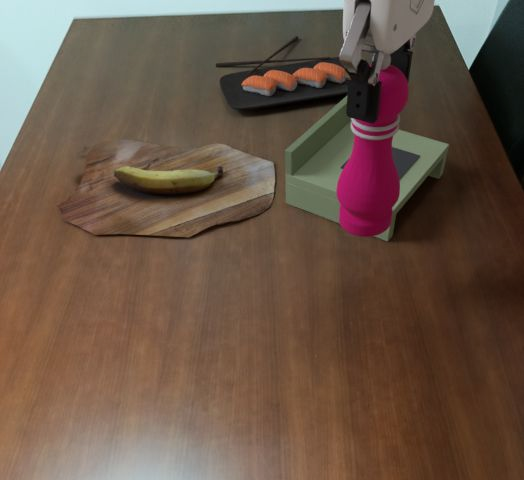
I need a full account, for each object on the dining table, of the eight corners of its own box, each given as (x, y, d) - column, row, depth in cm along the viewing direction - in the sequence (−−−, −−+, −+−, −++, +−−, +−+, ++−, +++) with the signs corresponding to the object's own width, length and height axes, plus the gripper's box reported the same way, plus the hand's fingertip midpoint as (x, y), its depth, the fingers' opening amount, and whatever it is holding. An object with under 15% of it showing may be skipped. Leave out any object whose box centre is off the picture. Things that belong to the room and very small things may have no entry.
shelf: (442, 174, 96) (454, 120, 89) (387, 242, 86) (396, 187, 79) (346, 143, 103) (350, 91, 96) (285, 203, 93) (284, 149, 86)
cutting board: (42, 235, 90) (34, 215, 87) (92, 139, 107) (86, 120, 104) (267, 243, 87) (266, 222, 84) (281, 143, 104) (281, 123, 101)
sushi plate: (231, 120, 110) (229, 100, 107) (203, 52, 128) (201, 33, 125) (377, 96, 113) (379, 76, 110) (329, 33, 132) (330, 15, 129)
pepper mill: (379, 247, 67) (402, 75, 52) (324, 228, 70) (330, 59, 54) (404, 213, 71) (433, 42, 56) (351, 196, 74) (364, 29, 58)
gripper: (397, -81, 39) (372, 155, 53) (487, -142, 48) (445, 75, 62) (301, -93, 42) (301, 134, 56) (403, -149, 51) (381, 60, 65)
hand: (377, 101), depth 59 cm, fingers closed on pepper mill, 6 cm apart
